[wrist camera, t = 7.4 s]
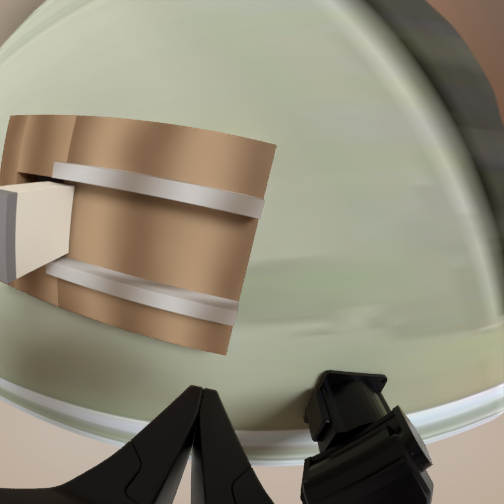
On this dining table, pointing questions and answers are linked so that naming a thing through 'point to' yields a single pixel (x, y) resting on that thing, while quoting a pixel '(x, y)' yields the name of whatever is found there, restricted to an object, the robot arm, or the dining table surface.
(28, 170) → the board
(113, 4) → the dining table surface
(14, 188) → the plunger
